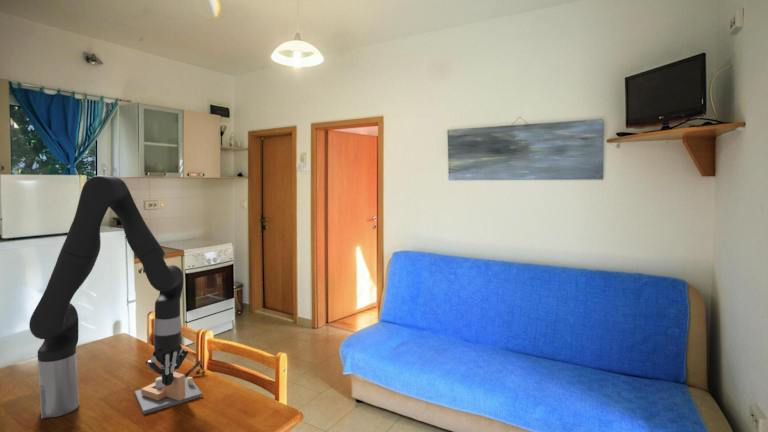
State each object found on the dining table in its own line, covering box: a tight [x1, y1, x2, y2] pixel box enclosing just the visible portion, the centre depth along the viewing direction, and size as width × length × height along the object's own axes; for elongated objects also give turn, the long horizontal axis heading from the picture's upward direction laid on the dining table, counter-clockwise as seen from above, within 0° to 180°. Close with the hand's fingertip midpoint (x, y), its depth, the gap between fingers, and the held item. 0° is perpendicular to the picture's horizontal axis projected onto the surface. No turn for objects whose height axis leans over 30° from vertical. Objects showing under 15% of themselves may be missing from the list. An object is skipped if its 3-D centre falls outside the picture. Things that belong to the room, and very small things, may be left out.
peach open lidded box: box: [140, 371, 185, 401], centre depth 137 cm, size 14×8×8 cm, turn 65°
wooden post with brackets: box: [183, 359, 205, 378], centre depth 154 cm, size 2×8×4 cm, turn 147°
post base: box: [134, 375, 203, 415], centre depth 139 cm, size 17×15×6 cm
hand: (167, 384), depth 132 cm, fingers closed
